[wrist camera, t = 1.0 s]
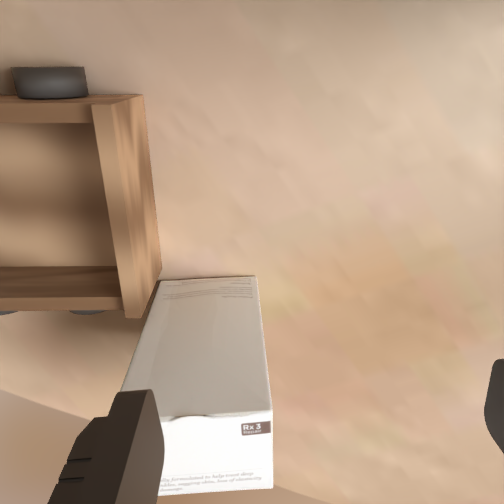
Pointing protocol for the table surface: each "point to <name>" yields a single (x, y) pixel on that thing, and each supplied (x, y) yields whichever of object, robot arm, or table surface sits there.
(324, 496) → the table surface
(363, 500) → the table surface
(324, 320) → the table surface
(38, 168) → the wooden toy cart
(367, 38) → the table surface
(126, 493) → the robot arm
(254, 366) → the skincare box
